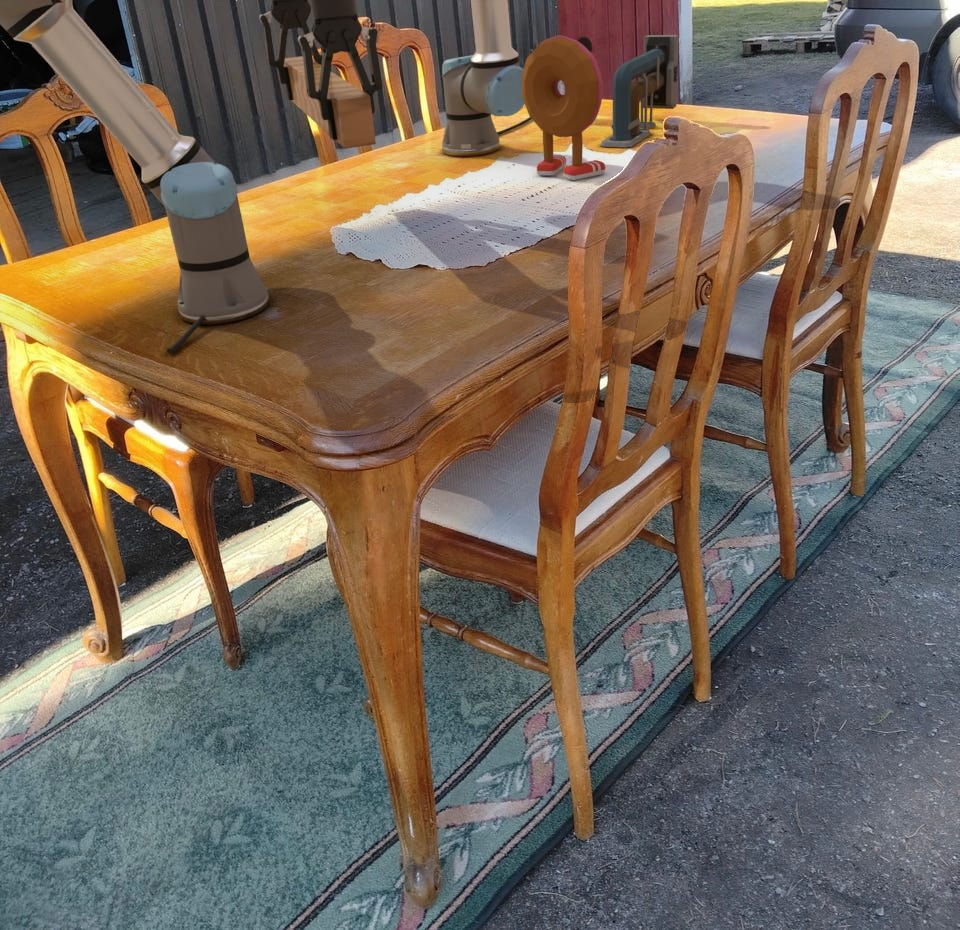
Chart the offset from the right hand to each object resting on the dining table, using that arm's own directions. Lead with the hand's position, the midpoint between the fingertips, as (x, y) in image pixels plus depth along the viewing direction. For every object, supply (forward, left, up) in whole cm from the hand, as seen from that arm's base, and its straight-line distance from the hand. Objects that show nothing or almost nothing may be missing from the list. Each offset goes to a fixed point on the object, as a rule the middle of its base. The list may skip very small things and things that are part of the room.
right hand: (304, 97), depth 210 cm
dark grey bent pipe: (-67, +63, -23) cm, 94 cm away
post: (+19, +14, -1) cm, 23 cm away
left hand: (+37, +27, 0) cm, 46 cm away
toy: (-24, +53, -23) cm, 62 cm away
